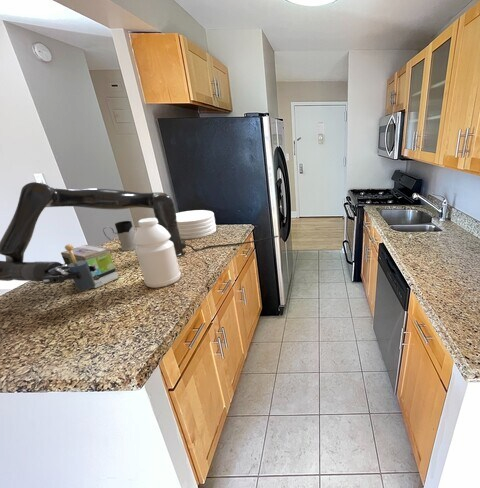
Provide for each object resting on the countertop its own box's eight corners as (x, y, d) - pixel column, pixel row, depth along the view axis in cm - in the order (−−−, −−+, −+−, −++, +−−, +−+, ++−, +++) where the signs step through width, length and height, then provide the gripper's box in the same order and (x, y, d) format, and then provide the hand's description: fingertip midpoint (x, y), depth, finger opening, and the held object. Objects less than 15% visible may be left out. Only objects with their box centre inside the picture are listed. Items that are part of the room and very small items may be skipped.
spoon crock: (97, 282, 103) (82, 240, 96) (93, 288, 98) (77, 245, 91) (80, 285, 100) (63, 243, 94) (75, 292, 96) (56, 248, 89)
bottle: (143, 291, 107) (123, 226, 96) (146, 276, 118) (129, 217, 108) (181, 283, 113) (166, 221, 102) (181, 270, 124) (168, 213, 114)
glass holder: (138, 248, 149) (131, 223, 143) (107, 253, 143) (98, 227, 137) (140, 243, 156) (133, 219, 150) (111, 247, 150) (103, 223, 144)
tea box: (119, 277, 117) (109, 247, 112) (95, 289, 108) (82, 256, 103) (97, 272, 122) (86, 243, 116) (71, 283, 113) (58, 252, 108)
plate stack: (188, 224, 191) (185, 209, 186) (223, 226, 187) (221, 210, 183) (160, 238, 165) (156, 220, 161) (201, 240, 161) (198, 222, 157)
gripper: (17, 271, 89) (66, 272, 89) (58, 254, 102) (100, 255, 102) (26, 290, 92) (73, 291, 92) (65, 271, 105) (106, 272, 105)
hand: (87, 272), depth 97 cm, fingers closed on spoon crock, 5 cm apart
